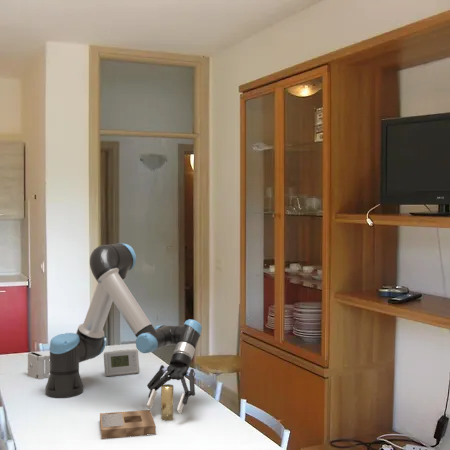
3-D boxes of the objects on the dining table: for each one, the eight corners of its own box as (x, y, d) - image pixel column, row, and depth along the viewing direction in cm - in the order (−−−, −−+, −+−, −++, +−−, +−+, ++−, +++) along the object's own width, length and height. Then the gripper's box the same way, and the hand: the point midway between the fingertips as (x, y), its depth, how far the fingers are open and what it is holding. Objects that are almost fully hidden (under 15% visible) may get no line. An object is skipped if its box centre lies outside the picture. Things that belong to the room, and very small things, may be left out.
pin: (161, 421, 214) (162, 388, 214) (160, 416, 218) (160, 384, 218) (174, 420, 215) (174, 387, 215) (172, 416, 219) (172, 383, 219)
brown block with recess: (101, 438, 197) (101, 429, 197) (99, 421, 213) (99, 412, 213) (155, 434, 202) (155, 425, 202) (150, 417, 217) (150, 409, 217)
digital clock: (103, 377, 267) (103, 354, 267) (103, 372, 276) (103, 349, 276) (140, 375, 271) (140, 352, 270) (138, 370, 279) (138, 347, 279)
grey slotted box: (54, 378, 266) (54, 355, 265) (45, 381, 261) (45, 358, 260) (32, 373, 273) (32, 351, 272) (23, 376, 268) (23, 354, 268)
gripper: (213, 365, 226) (196, 418, 212) (157, 358, 235) (138, 409, 221) (208, 354, 221) (190, 408, 207) (151, 348, 230) (131, 400, 216)
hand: (163, 409), depth 214 cm, fingers open, 11 cm apart
